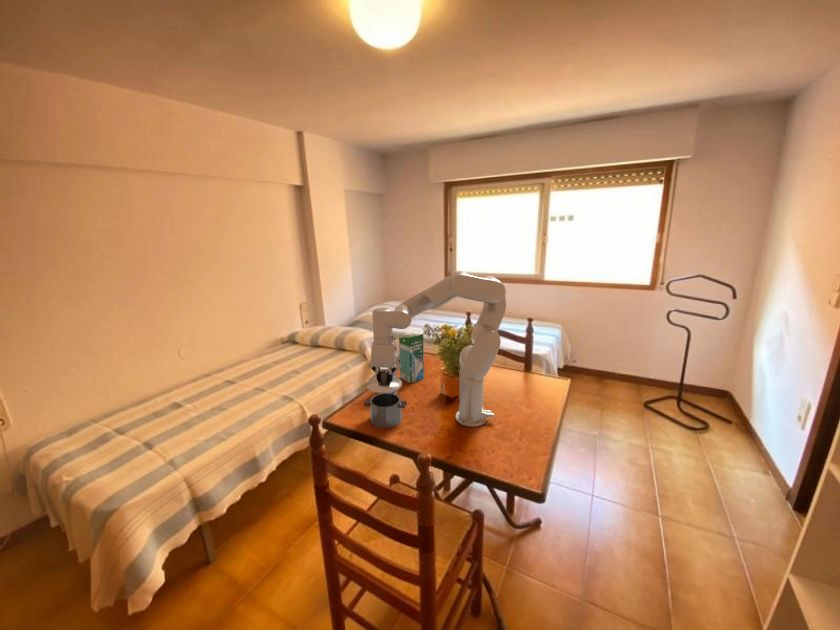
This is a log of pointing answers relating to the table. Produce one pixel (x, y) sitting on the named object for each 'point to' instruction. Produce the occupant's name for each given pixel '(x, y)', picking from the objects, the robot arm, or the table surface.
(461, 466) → the table surface
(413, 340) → the milk carton
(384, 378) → the lid
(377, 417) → the stockpot
